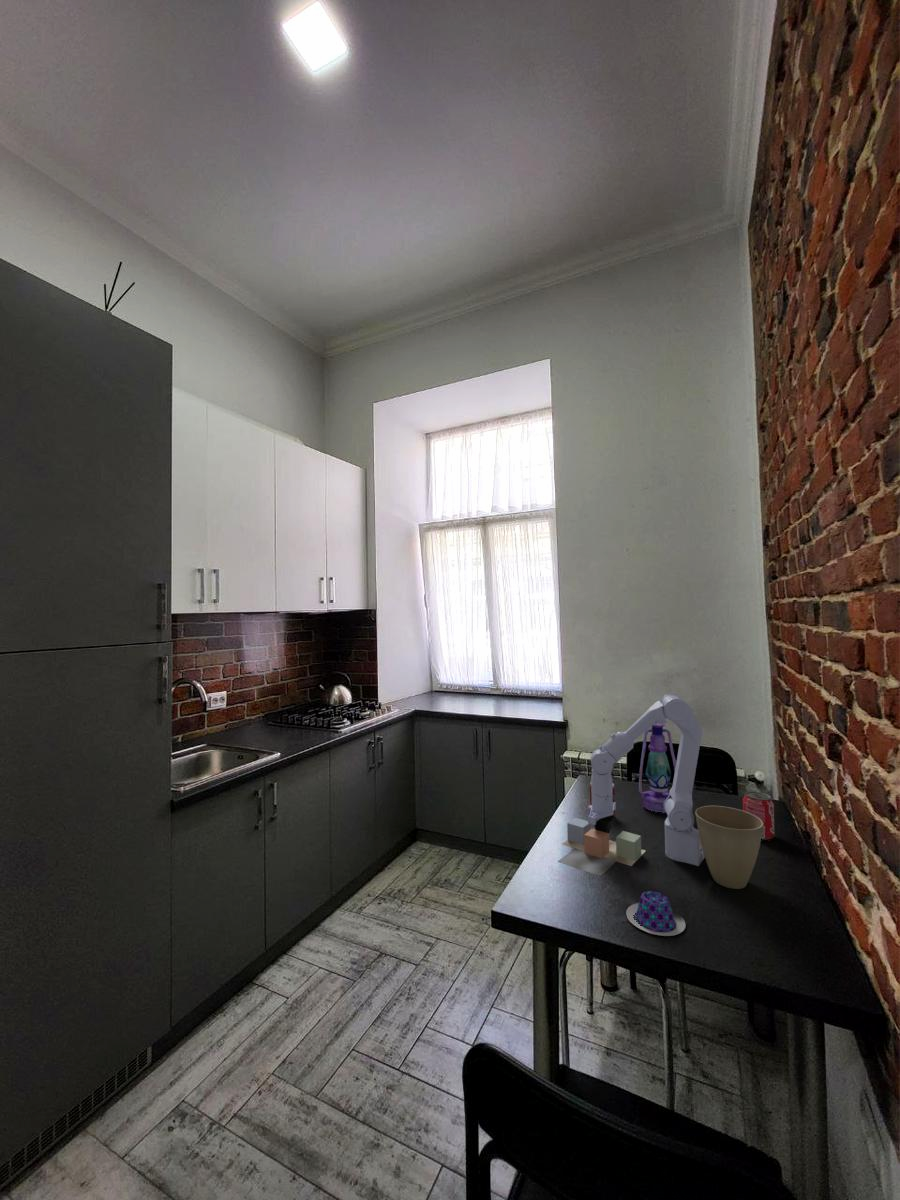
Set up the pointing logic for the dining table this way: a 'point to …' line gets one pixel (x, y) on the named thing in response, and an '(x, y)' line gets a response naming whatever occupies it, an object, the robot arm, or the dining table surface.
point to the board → (593, 859)
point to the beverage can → (761, 811)
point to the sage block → (628, 845)
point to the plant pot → (729, 843)
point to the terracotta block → (596, 843)
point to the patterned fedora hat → (655, 915)
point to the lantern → (656, 769)
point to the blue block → (577, 830)
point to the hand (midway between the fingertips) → (602, 842)
